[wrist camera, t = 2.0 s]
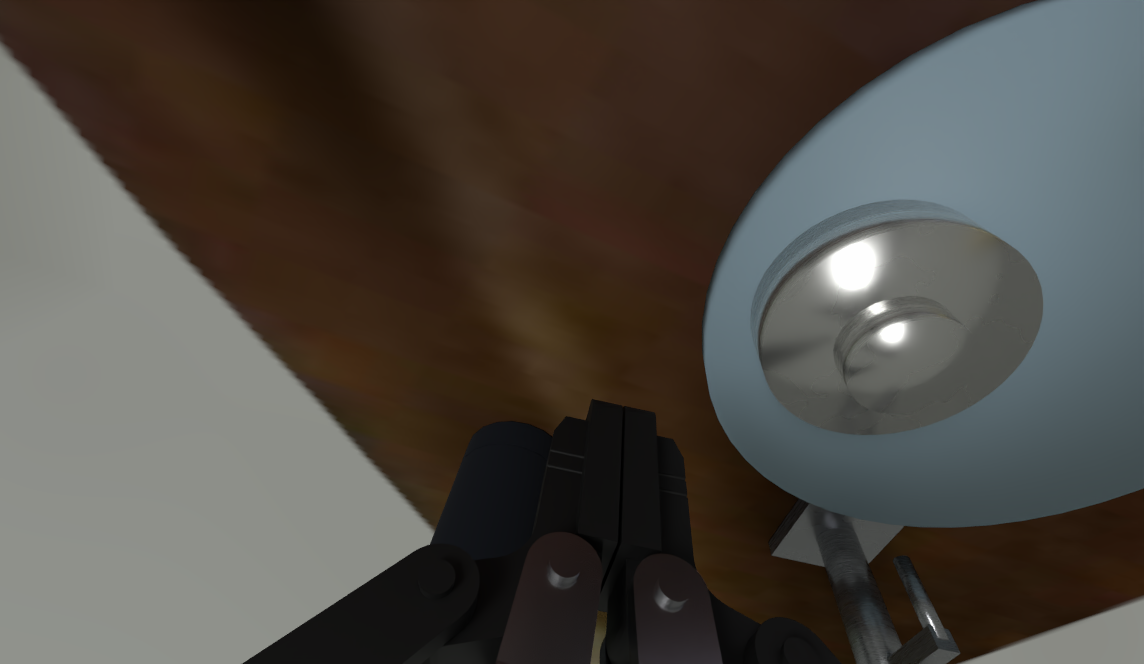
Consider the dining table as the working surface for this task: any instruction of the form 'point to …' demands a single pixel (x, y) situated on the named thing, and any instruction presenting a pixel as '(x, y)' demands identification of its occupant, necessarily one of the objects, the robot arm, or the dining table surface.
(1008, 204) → the platter
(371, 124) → the dining table surface
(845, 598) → the dial gauge
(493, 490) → the black bottle
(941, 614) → the dining table surface
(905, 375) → the cover
